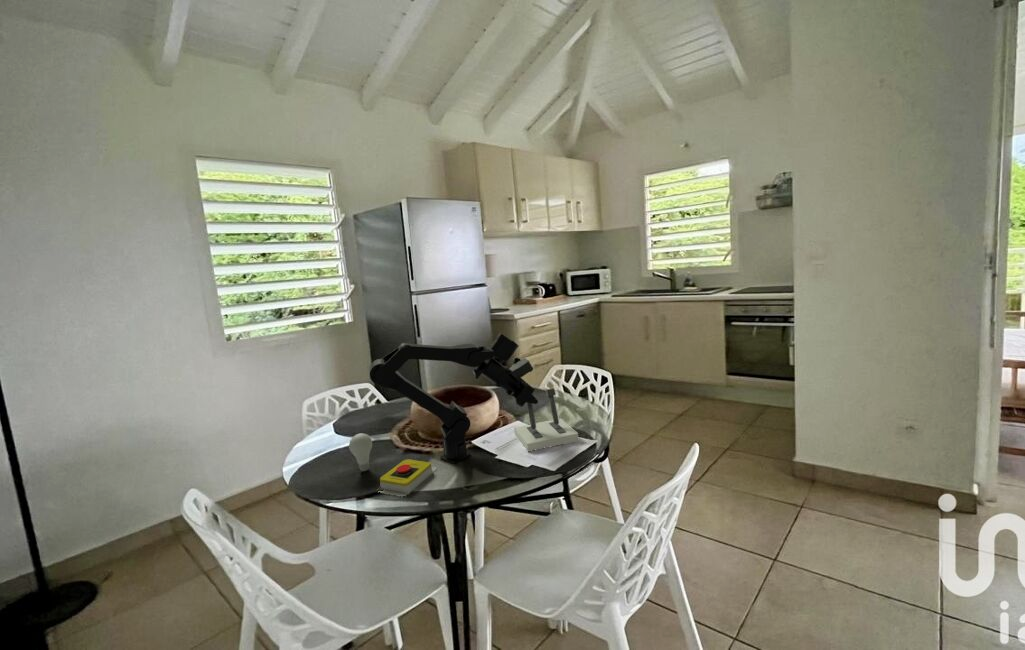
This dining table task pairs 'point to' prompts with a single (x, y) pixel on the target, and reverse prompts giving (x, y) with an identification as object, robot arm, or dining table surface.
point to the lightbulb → (361, 450)
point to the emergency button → (405, 477)
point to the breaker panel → (546, 430)
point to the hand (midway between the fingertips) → (537, 402)
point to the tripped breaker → (531, 415)
